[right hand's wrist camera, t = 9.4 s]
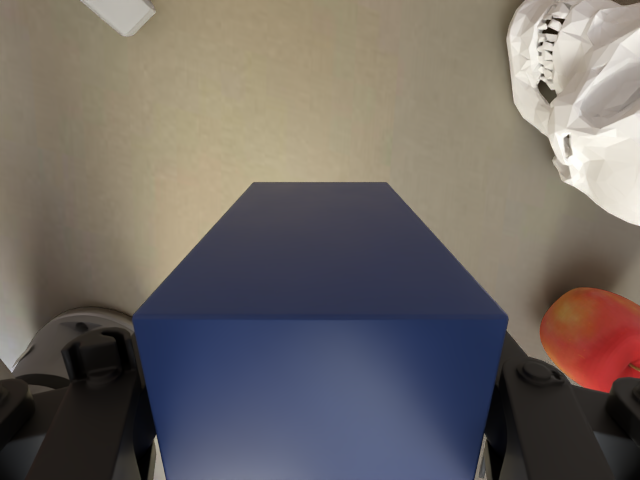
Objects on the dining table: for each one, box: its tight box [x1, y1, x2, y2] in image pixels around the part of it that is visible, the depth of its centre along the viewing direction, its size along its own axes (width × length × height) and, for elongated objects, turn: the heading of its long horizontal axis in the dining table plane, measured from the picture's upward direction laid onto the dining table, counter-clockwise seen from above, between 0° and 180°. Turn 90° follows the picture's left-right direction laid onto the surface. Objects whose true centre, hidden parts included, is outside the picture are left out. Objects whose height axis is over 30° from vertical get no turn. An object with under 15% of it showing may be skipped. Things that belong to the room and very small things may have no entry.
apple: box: [540, 287, 640, 393], centre depth 35 cm, size 10×10×10 cm
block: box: [132, 182, 508, 480], centre depth 12 cm, size 6×6×11 cm
